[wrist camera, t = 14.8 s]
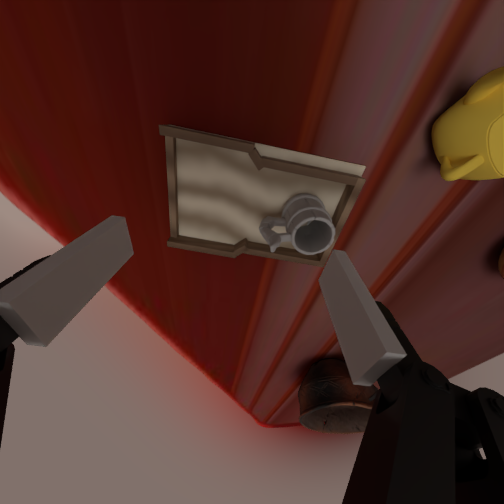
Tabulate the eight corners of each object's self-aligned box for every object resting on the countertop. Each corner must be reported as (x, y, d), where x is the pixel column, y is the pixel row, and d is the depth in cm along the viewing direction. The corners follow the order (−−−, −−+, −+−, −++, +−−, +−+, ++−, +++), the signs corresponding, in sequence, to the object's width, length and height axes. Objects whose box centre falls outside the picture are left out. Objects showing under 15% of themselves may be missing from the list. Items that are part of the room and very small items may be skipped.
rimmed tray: (170, 124, 31) (158, 124, 27) (363, 165, 33) (374, 170, 29) (175, 236, 42) (167, 246, 38) (318, 261, 44) (323, 273, 40)
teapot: (397, 170, 33) (444, 187, 24) (443, 67, 26) (533, 39, 17) (478, 176, 33) (554, 195, 24) (546, 75, 26) (687, 51, 17)
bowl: (301, 387, 77) (309, 439, 65) (285, 354, 65) (290, 410, 52) (368, 380, 72) (391, 434, 59) (364, 342, 59) (392, 401, 47)
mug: (322, 227, 38) (343, 264, 28) (261, 234, 39) (261, 272, 29) (324, 188, 34) (349, 215, 24) (256, 197, 35) (254, 226, 25)
